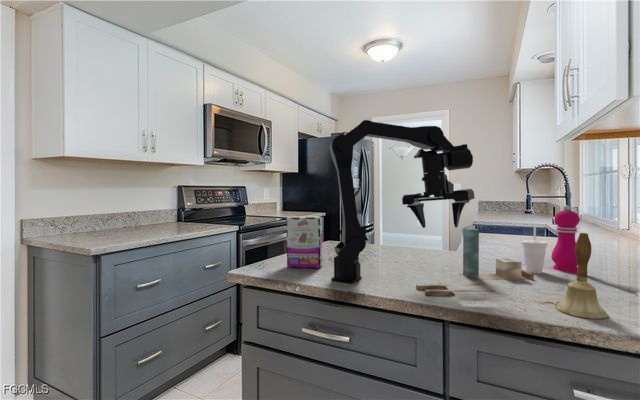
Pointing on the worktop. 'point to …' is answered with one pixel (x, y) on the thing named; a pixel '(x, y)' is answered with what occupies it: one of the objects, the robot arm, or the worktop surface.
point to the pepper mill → (565, 241)
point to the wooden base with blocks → (473, 259)
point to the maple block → (508, 268)
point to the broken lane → (445, 289)
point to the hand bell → (582, 287)
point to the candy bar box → (304, 242)
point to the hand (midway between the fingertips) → (439, 227)
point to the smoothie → (534, 254)
